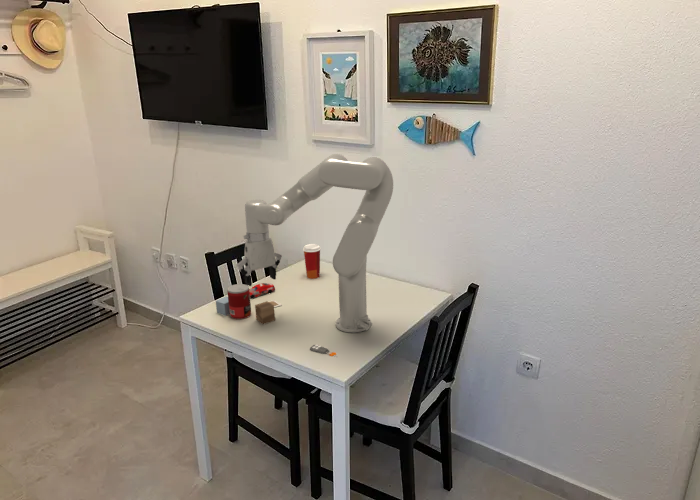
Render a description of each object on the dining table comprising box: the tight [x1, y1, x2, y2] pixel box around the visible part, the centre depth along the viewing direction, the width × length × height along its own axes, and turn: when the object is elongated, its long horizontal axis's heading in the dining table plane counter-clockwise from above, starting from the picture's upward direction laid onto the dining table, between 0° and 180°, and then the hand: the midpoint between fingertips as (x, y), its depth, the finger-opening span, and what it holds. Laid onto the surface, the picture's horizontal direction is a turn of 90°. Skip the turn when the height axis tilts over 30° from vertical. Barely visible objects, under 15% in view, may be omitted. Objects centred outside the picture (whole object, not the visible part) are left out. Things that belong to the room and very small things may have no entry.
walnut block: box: [254, 300, 276, 325], centre depth 195 cm, size 5×5×6 cm
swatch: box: [268, 299, 282, 309], centre depth 208 cm, size 6×6×1 cm
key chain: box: [309, 344, 338, 359], centre depth 172 cm, size 13×4×2 cm, turn 58°
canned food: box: [226, 283, 252, 320], centre depth 199 cm, size 8×8×11 cm
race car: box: [249, 282, 276, 300], centre depth 219 cm, size 13×5×4 cm, turn 124°
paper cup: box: [302, 243, 322, 280], centre depth 233 cm, size 8×8×14 cm
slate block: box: [215, 295, 230, 317], centre depth 203 cm, size 5×5×5 cm
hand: (261, 281), depth 191 cm, fingers open, 9 cm apart
